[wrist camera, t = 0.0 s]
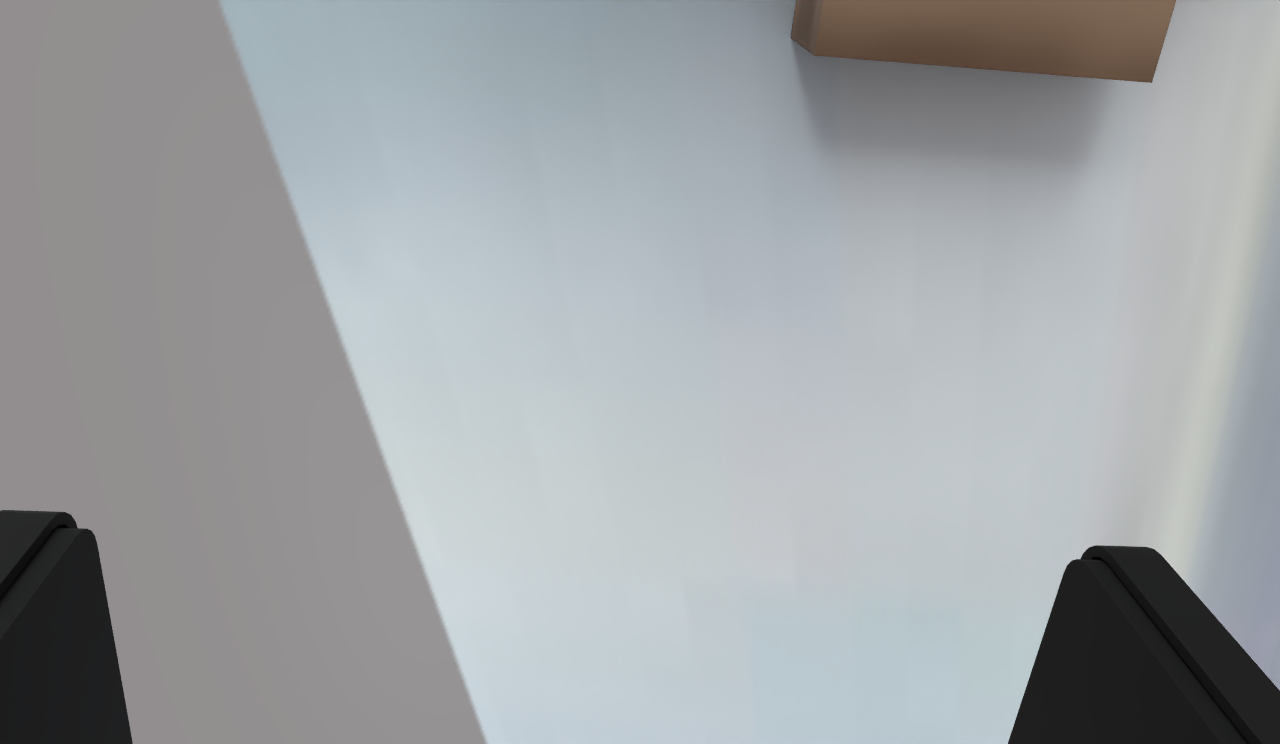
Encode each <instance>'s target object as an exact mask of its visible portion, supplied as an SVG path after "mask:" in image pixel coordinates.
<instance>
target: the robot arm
mask: <svg viewBox="0 0 1280 744" xmlns="http://www.w3.org/2000/svg"><path fill="white" fill-rule="evenodd" d="M0 744H132V737H131V732H130V726H129V721H128V715H127V709H126V703H125V698H124V692H123V687H122V681H121V675H120V670H119V664H118V658H117V653H116V648H115V642H114V636H113V630H112V626H111V619H110V614H109V608H108V602H107V597H106V591H105V585H104V580H103V575H102V569H101V563H100V558H99V552H98V547H97V542H96V539H95V535H94V534H93V532H92V531H91V530H88V529H78V528H77V525H76V522H75V520H74V519H73V517H72V516H71V515H70V514H68V513H66V512H46V511H44V512H43V511H14V510H2V511H0ZM1008 744H1280V691H1279V689H1278V688H1277V687H1276V686H1275V685H1274V684H1273V683H1272V681H1271V680H1270V679H1269V678H1268V677H1267V676H1266V675H1265V673H1264V672H1263V671H1262V670H1261V669H1260V668H1259V667H1258V665H1257V664H1256V663H1255V662H1254V661H1253V660H1252V659H1251V657H1250V656H1249V655H1248V654H1247V653H1246V652H1245V650H1244V649H1243V648H1242V647H1241V646H1240V645H1239V644H1238V642H1237V641H1236V640H1235V639H1234V638H1233V637H1232V636H1231V634H1230V633H1229V632H1228V631H1227V630H1226V629H1225V628H1224V626H1223V625H1222V624H1221V623H1220V622H1219V621H1218V620H1217V618H1216V617H1215V616H1214V615H1213V614H1212V613H1211V612H1210V610H1209V609H1208V608H1207V607H1206V606H1205V605H1204V604H1203V602H1202V601H1201V600H1200V599H1199V598H1198V597H1197V595H1196V594H1195V593H1194V592H1193V591H1192V590H1191V589H1190V587H1189V586H1188V585H1187V584H1186V583H1185V582H1184V581H1183V579H1182V578H1181V577H1180V576H1179V575H1178V574H1177V573H1176V571H1175V570H1174V569H1173V568H1172V567H1171V566H1170V565H1169V563H1168V562H1167V561H1166V560H1165V559H1164V558H1163V557H1162V555H1160V554H1159V553H1158V552H1157V551H1156V550H1154V549H1151V548H1148V547H1127V546H1093V547H1090V548H1088V549H1087V550H1086V551H1085V552H1084V553H1083V555H1082V557H1081V559H1076V560H1073V561H1071V562H1070V563H1069V564H1068V565H1067V567H1066V569H1065V572H1064V574H1063V577H1062V580H1061V583H1060V586H1059V590H1058V593H1057V596H1056V599H1055V602H1054V605H1053V608H1052V611H1051V614H1050V617H1049V620H1048V623H1047V626H1046V629H1045V632H1044V635H1043V638H1042V641H1041V644H1040V647H1039V650H1038V654H1037V657H1036V660H1035V663H1034V666H1033V669H1032V672H1031V675H1030V678H1029V681H1028V684H1027V687H1026V690H1025V693H1024V696H1023V699H1022V702H1021V705H1020V708H1019V711H1018V714H1017V718H1016V721H1015V724H1014V727H1013V730H1012V733H1011V736H1010V739H1009V742H1008Z"/></svg>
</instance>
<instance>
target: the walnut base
mask: <svg viewBox="0 0 1280 744" xmlns="http://www.w3.org/2000/svg"><path fill="white" fill-rule="evenodd" d="M1175 3H1176V0H796V5H795V12H794V19H793V26H792V33H791V39H793V40H794V41H796V42H797V43H798V44H800V45H801V46H802V47H804V48H805V49H806V50H808V51H809V52H810V53H812V54H813V55H815V56H828V57H840V58H852V59H865V60H877V61H890V62H902V63H914V64H927V65H939V66H952V67H964V68H976V69H989V70H1001V71H1013V72H1026V73H1038V74H1051V75H1063V76H1075V77H1088V78H1100V79H1113V80H1125V81H1137V82H1150V83H1152V80H1153V76H1154V73H1155V70H1156V66H1157V63H1158V60H1159V56H1160V53H1161V50H1162V46H1163V43H1164V40H1165V36H1166V33H1167V30H1168V26H1169V23H1170V19H1171V16H1172V13H1173V9H1174V6H1175Z"/></svg>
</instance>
